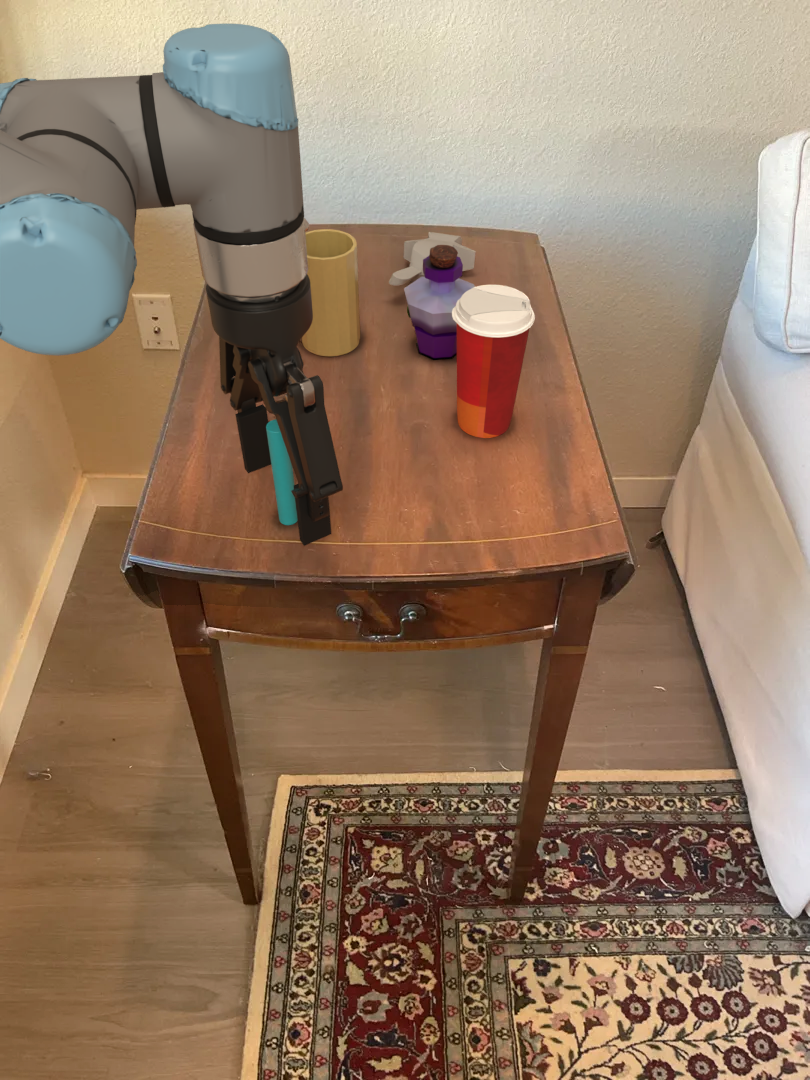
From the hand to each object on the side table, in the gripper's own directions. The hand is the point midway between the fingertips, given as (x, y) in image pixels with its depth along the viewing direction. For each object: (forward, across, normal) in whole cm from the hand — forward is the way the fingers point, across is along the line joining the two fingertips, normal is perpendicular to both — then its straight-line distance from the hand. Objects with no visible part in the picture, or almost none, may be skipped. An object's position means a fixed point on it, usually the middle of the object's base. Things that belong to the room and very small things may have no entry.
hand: (286, 500), depth 76 cm
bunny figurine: (+3, +29, -36) cm, 46 cm away
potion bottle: (+3, +16, -28) cm, 32 cm away
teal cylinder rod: (+2, 0, 0) cm, 2 cm away
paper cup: (+3, +2, -24) cm, 24 cm away
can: (+2, +24, -18) cm, 30 cm away
